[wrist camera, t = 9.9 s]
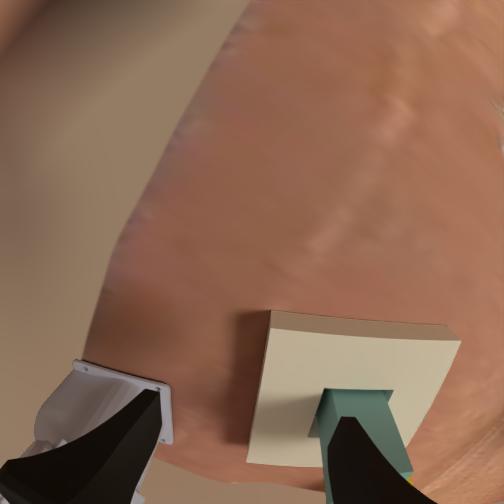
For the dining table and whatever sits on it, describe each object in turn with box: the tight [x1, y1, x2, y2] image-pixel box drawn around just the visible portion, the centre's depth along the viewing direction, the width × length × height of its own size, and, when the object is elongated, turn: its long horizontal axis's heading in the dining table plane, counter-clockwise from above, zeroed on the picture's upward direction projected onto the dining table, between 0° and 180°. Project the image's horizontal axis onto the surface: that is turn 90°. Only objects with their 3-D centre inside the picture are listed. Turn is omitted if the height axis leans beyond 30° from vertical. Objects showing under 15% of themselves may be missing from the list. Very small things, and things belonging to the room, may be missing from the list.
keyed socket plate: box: [246, 310, 461, 467], centre depth 21 cm, size 14×14×2 cm
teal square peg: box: [316, 388, 413, 504], centre depth 17 cm, size 4×4×10 cm
